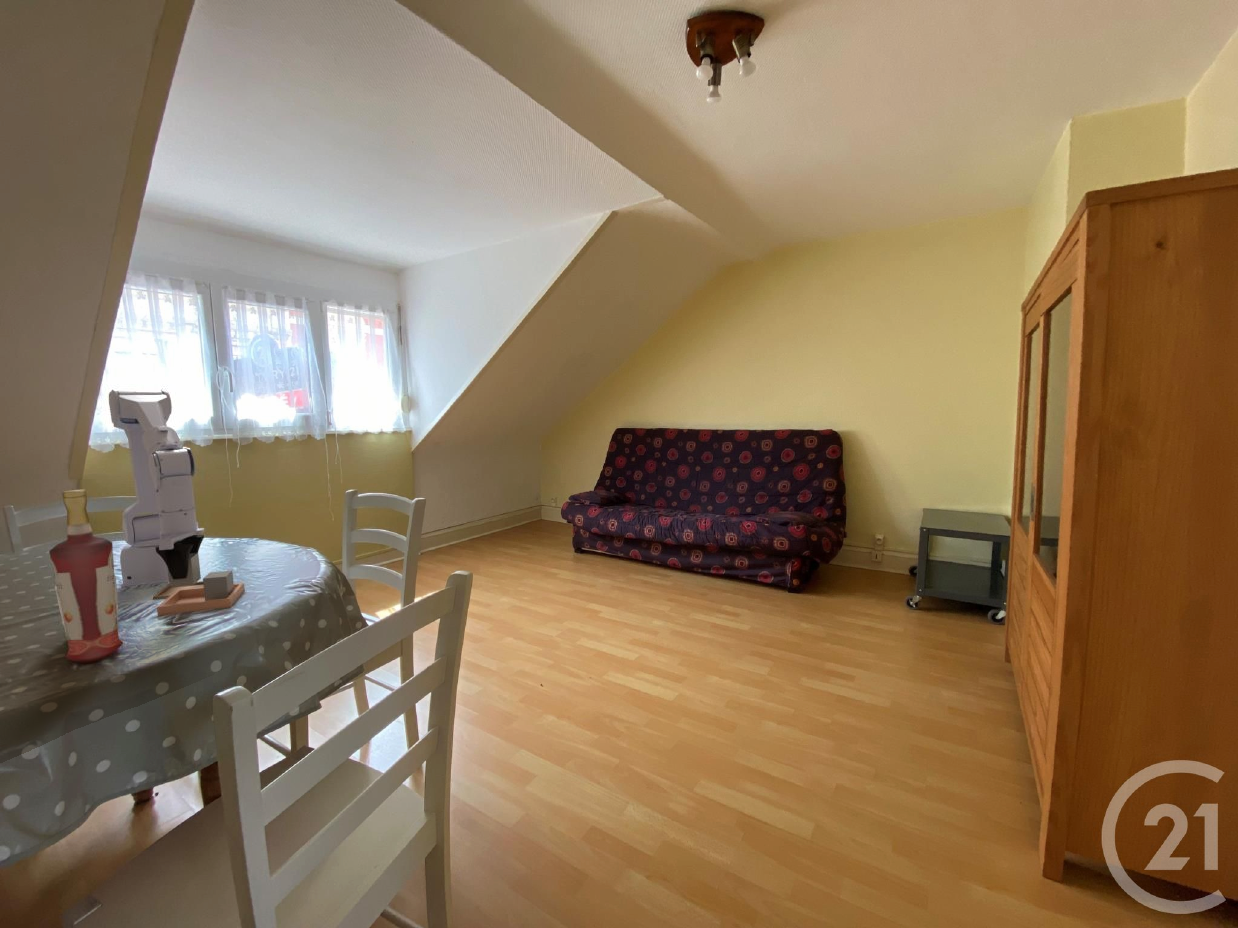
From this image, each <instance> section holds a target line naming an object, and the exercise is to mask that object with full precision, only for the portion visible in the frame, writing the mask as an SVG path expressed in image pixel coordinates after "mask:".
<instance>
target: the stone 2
mask: <svg viewBox="0 0 1238 928" xmlns="http://www.w3.org/2000/svg"><path fill="white" fill-rule="evenodd" d="M202 581H203V585H204V595H205V601H207V600H215V599H224V598H228V597H229V595H230V594H231V593H232V592H233V591H234V584H235V583H234V575H233V570H224V571H213V572H212V571H211V572H209V573H208V574H206V575H205V576H204V577H202Z"/></svg>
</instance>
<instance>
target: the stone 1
mask: <svg viewBox="0 0 1238 928" xmlns="http://www.w3.org/2000/svg"><path fill="white" fill-rule="evenodd" d="M167 568H168V567H167ZM201 574H202V573H201V566H200V556H199V552H198V553H190V554H189V560H188V573H187V577H186V578H184V579H174V580H173V578H172V576H171V574H170V572H169V569H168V577H169V582H168V585H169V586H170V587H175V586H185V585H194V584H195V583H196V582H198V581H201V578H202V575H201Z"/></svg>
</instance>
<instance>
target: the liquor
mask: <svg viewBox="0 0 1238 928" xmlns="http://www.w3.org/2000/svg"><path fill="white" fill-rule="evenodd" d="M61 493H62V499H63V504H64V507H65V509H66V513H67V514H66V518H67V519H66V531H67V533H66V535H67V536H66V538H67V539H66V540H64V541H61V542H60V543H58V544H56V545H55V546H53V547H52V548H51V549H50V550H48V551H49V557H50V562H51V567H52V571H53V572H52V573H53V577H54V582H55V583H54V584H55V586H56V587H57V591H58V595H59V599H60V604H61V608H62V613H63V618H64V623H65V627H64V629H65V628H66V632H65V635H66V634H67V637H66V640H67V639H68V640H67V644H68V652H67V654H66V655H65V657H66V658H67V659H68V660H71V661H74V662H77V663H78V664H89V663H94V662H98V661H99V662H100V661H102V660H105V659H107V658H110V657H111V656H113V655H114V654H115V653H116V652H117V651H118V650H119V649H120V648H121V647H122V646H123V645H124V642H123V641H122V639H120V637H119V623H118V624H117V617H118V615H117V613H116V599H115V576H116V575H115V562H114V549H113V541H111V540H109V539H106V538H104V537H100V536H95V535H94V533H93V529H92V526H91V523H90V518H89V515H88V511H87V504H88V503H87V502H88V498H87V497H88V496H87V490H86V489H73V490H63V491H62V492H61Z"/></svg>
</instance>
